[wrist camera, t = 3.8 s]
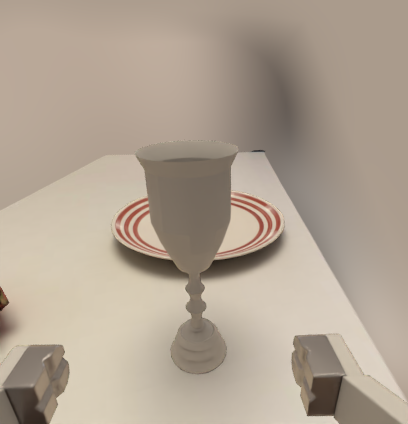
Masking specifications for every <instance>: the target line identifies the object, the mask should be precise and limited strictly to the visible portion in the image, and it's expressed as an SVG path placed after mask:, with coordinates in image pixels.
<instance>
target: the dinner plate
mask: <svg viewBox="0 0 408 424" xmlns="http://www.w3.org/2000/svg"><path fill="white" fill-rule="evenodd" d="M284 225H285V220H284V217H283V215H282V213H281V212H280V210H279V209H278V208H276V207H275V206H274V205H273V204H271V203H269V202H268V201H266V200H264V199H262V198H259V197H257V196H254V195H251V194H248V193H244V192H239V191H234V190H231V219H230V223H229V226H228V229H227V231H226V234H225V237H224V240H223V242H222V244H221V246H220V248H219V250H218V252H217V254H216V256H215V258H214V260H220V259H227V258H234V257H238V256H242V255H245V254H249V253H252V252H254V251H257V250H259V249H261V248H263V247H265V246H267V245H269V244H271V243H272V242H273V241H275V240H276V239H277V238H278V237H279V236H280V234H281V233H282V231H283V229H284ZM111 230H112V233H113V235H114V236H115V238H116V239H117V240H118V241H119V242H121V243H122V244H123V245H125V246H127V247H128V248H130V249H132V250H135V251H137V252H139V253H142V254H145V255H149V256H152V257H157V258H162V259H168V260H172V259H171V257H170V256H169V254H168V253H167V251H166V250H165V248H164V247H163V245H162V244H161V242H160V240H159V238H158V236H157V234H156V232H155V230H154V228H153V226H152V224H151V219H150V211H149V203H148V195H147V196H144V197H141V198H139V199H136V200H134V201H132V202H130V203H128V204H127V205H125V206H124V207H122V208H121V209H120V210H119V211H118V212H117V213H116V214H115V216H114V217H113V219H112V222H111Z"/></svg>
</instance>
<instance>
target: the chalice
mask: <svg viewBox="0 0 408 424" xmlns="http://www.w3.org/2000/svg"><path fill="white" fill-rule="evenodd" d="M237 153H238V147H236V146H235V145H233V144H229V143H225V142H217V141H202V140H201V141H199V140H198V141H174V142H165V143H159V144H154V145H149V146H146V147H142V148H140V149H138V150H137V151H136V152H135V156H136V157H137V159H138V160H139V162H140V164H141V165H142V167H143V168H144V170H145V178H146V186H147V194H148V203H149V211H150V219H151V224H152V226H153V228H154V230H155V232H156V234H157V236H158V238H159V240H160V242H161V244H162V245H163V247H164V248H165V250H166V251H167V253H168V254H169V256H170V257H171V259H172V260H173V262H174V263H175V265H176V266H177V268H178V269H179V270H181V271H182V272H185V273H188V274H189V280H188V284H187V285H186V288H185V289H186V291H187V292H188V293H189V295H190V301H189V302H188V303H187V304H186V309H187V311H188V312H190V313H191V316H192V319H189V320H187V321H186V322H185V323H183V324H182V325H181V327H180V328H179V329H178V332H177V334H176V337H175V340H174V341H173V344H172V347H171V357H172V359H173V361H174V363H175V364H176V365H177V366H178V367H179V368H180V369H182V370H184V371H186V372H188V373H195V374H200V373H206V372H209V371H211V370H213V369H215V368H217V367H218V366H219V365H220V364H221V363H222V362H223V360H224V358H225V356H226V344H225V341H224V339H223V338H222V337H221V334H220V333H219V331H218V329H217V327H216V326H215V324H213V323H212V322H211V321H209V320H208V319H205V318H202V312H203V311H205V309H206V303H205V302H204V301H203V300H202V299H201V294H202V292H203V291H204V289H205V287H204V285H203V284H202V283H201V280H200V272H203V271H205V270H207V269H208V268H209V267H210V265H211V263H212V261H213V260H214V258H215V256H216V254H217V252H218V250H219V248H220V246H221V244H222V242H223V240H224V237H225V234H226V231H227V229H228V226H229V223H230V219H231V165H232V163H233V161H234V159H235V157H236V155H237Z"/></svg>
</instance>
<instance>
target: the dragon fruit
mask: <svg viewBox="0 0 408 424" xmlns="http://www.w3.org/2000/svg"><path fill="white" fill-rule="evenodd" d="M8 304H9V301H8V299H7V297H6V295H5V294H4V292H3V290H2V288H1V287H0V311H2V309H3V308H4V307H5V306H7V305H8Z"/></svg>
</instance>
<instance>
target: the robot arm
mask: <svg viewBox="0 0 408 424" xmlns="http://www.w3.org/2000/svg"><path fill="white" fill-rule="evenodd" d="M293 345H294V347H295V351H294V352H293V353H292V360H291V361H292V370H293V374H294V378H295V381H296V383H297V384H298V385H299V386H300V387H301V394H300V396H301V399H302V402H303V405H304V408H305V411H306V414H307V416H334V418H335V419H336V420H337V421H338V422H339V424H408V403H406V402H405V401H404V400H402V399H401V398H400V397H398V396H397V395H395V394H394V393H393V392H391V391H390V390H389V389H387V388H386V387H384V386H383V385H382V384H380V383H379V382H378V381H376V380H375V379H373V378H372V377H371V376H369V375H364V374H363V372H362V370H361V368H360V367H359V365H358V363H357V362H356V360H355V358H354V357H353V355H352V353H351V352H350V350H349V348H348V347H347V345H346V343H345V341H344V340H343V338H342V336H341V335H339V334H324V335H323V334H318V335H298V336H295V337H294V341H293ZM64 353H65V351H64V348H63V345H17V346H16V347H14V348H13V349H12V350H11V351H10V352H9V354H8V355H7V357H6V358H5V359H4V361H3V362H2V363H1V365H0V424H49V423H50V421H51V419H52V417H53V414H54V412H55V410H56V408H57V406H58V403H57V399H56V398H57V397H58V396H59V395H60V394H62V393H63V392H64V390H65V388H66V385H67V383H68V378H69V364H68V361H66V360H65V359H64V358H63V355H64Z"/></svg>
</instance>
